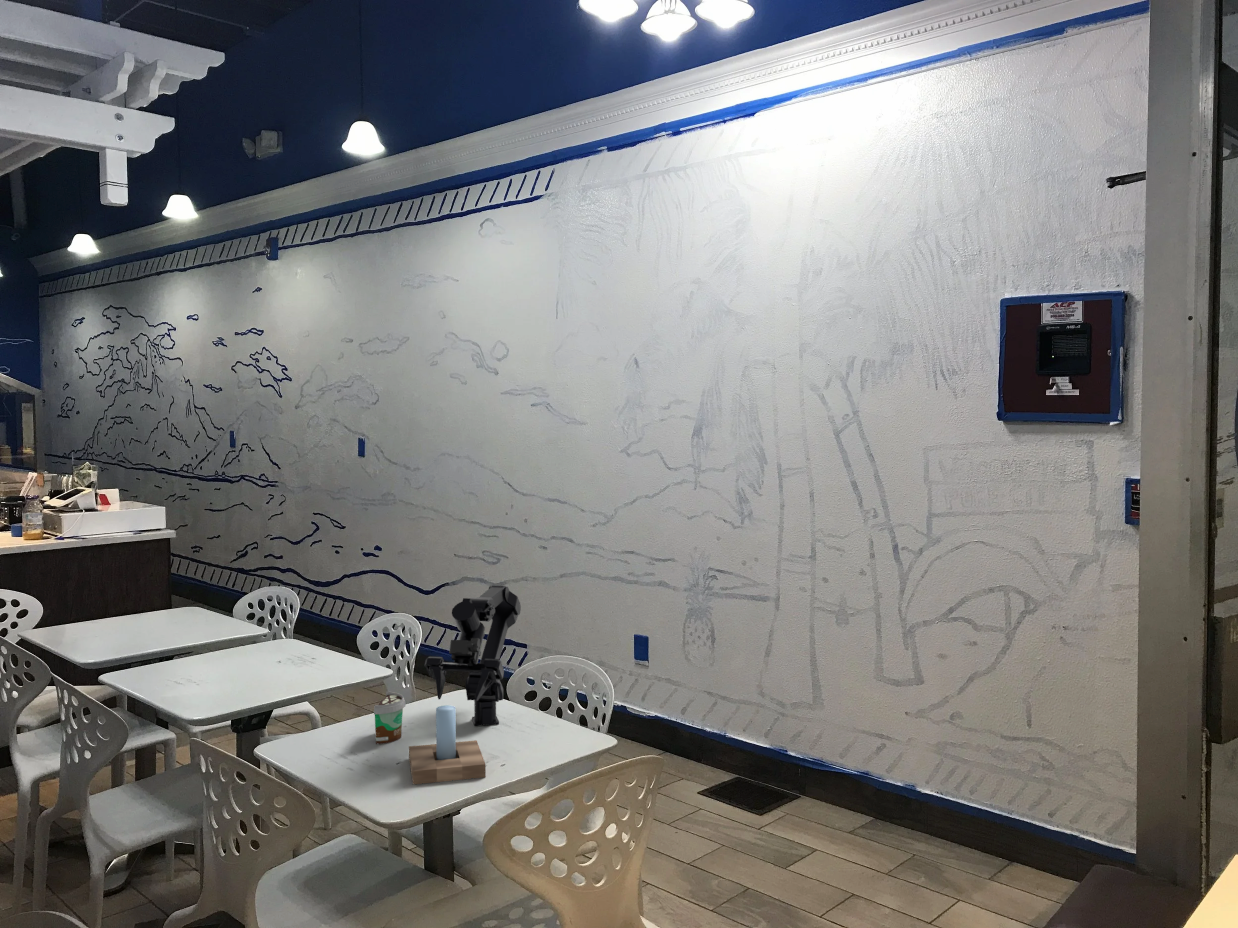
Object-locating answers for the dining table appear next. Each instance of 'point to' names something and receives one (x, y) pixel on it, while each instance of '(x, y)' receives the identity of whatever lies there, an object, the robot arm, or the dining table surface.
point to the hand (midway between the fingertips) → (457, 699)
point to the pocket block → (446, 763)
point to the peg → (445, 732)
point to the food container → (389, 718)
